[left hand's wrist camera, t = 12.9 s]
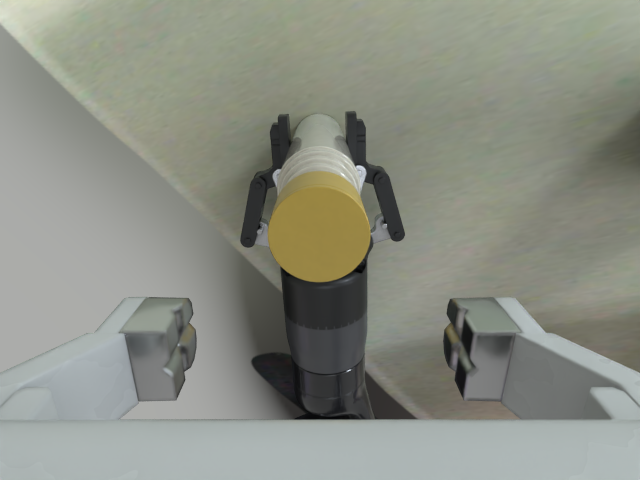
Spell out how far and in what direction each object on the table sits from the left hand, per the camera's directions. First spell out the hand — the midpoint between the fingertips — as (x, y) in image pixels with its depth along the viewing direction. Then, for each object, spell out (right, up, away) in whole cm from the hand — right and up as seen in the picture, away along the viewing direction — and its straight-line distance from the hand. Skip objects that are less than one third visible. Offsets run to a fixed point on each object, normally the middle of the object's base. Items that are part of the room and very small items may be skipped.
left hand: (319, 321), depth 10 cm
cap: (0, +2, +5) cm, 6 cm away
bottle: (0, +11, +27) cm, 30 cm away
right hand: (0, +11, +21) cm, 24 cm away
